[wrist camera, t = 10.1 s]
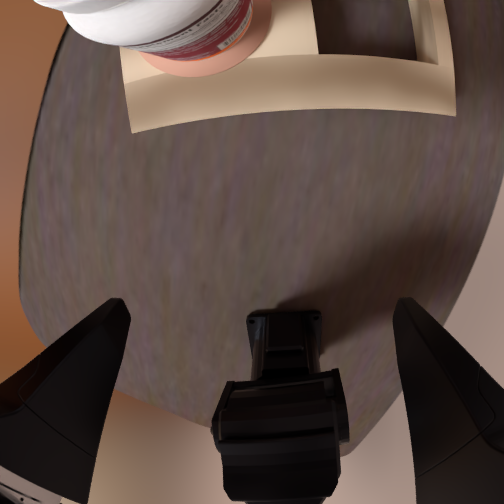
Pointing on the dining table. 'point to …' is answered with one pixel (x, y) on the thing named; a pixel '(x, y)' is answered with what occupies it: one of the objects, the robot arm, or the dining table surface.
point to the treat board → (292, 72)
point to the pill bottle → (160, 24)
